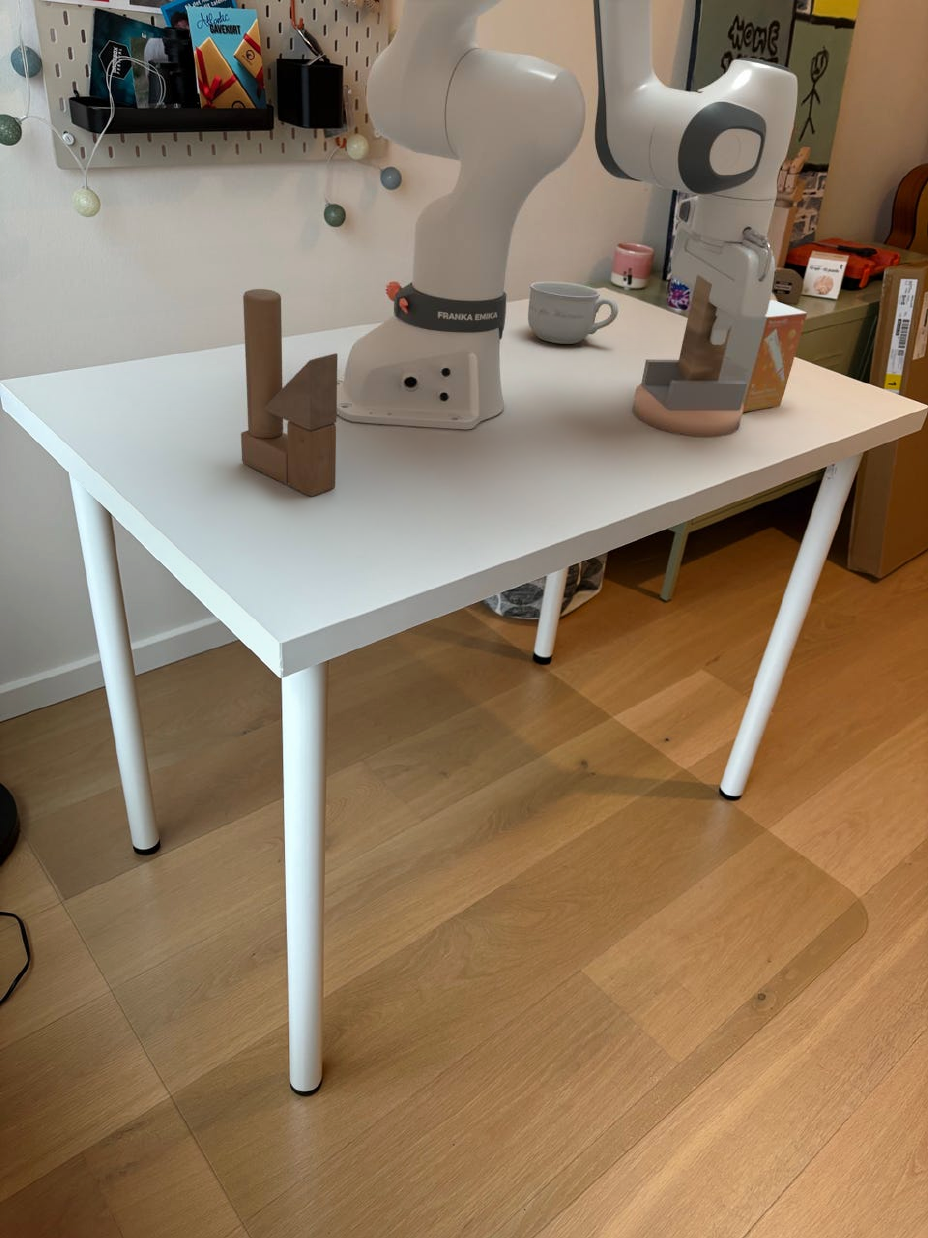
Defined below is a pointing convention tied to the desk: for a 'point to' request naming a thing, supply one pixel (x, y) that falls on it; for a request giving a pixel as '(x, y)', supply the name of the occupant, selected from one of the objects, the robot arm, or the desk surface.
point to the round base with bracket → (687, 402)
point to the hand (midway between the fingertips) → (705, 335)
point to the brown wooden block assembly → (287, 404)
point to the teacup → (566, 311)
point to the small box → (763, 354)
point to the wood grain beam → (701, 338)
